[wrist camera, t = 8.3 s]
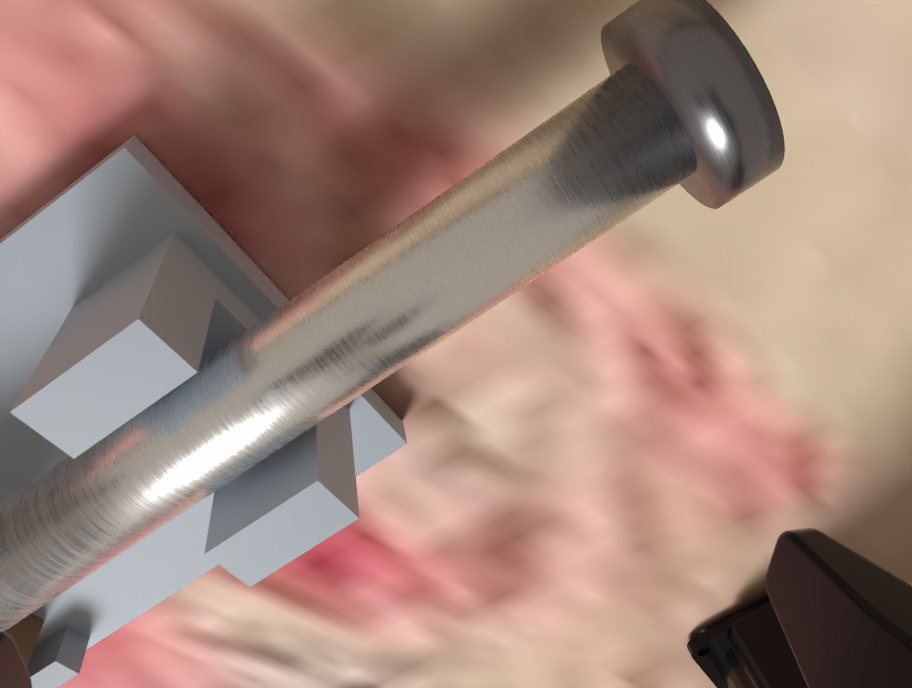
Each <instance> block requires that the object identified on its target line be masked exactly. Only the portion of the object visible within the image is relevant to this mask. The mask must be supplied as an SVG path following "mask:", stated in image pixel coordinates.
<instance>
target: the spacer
mask: <svg viewBox="0 0 912 688" xmlns="http://www.w3.org/2000/svg"><path fill="white" fill-rule="evenodd" d="M44 621H45V620H43V619H42V618H40V617H38V616H36V615H35V614H33V613H31V614H30V615H28V616H27V617H25V618H24V619H22V620H21V621H19V622H18V623H16V624H15V625H13V626H12V627H10V628H9V629H7V630H6V631H4V632H7V633H8V634H10V635H11V636H12V638H13V640H14V642H15V644H16V646H17V648H18V651H19V653H20V655H21V657H22V659H23V661H24V664H25V666H26V668H27V667H28V664H29V661H30V658H31V656H32V653H33V650H34V648H35V645H36V642H37V640H38V637H39V634H40V632H41V629H42V626H43V623H44Z"/></svg>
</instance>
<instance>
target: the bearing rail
mask: <svg viewBox="0 0 912 688" xmlns="http://www.w3.org/2000/svg"><path fill="white" fill-rule="evenodd" d="M288 301H290V300H289V299H288V298H287V297H286V296H285V295H284V294H283V293H282V292H281V291H280V290H279V289H278V288H277V287H276V285H275V284H274V283H273V282H272V281H271V280H270V279H269V278H268V277H267V276H266V275H265V274H264V273H263V272H262V271H261V269H260V268H259V267H258V266H257V265H256V264H255V263H254V262H253V261H252V260H251V259H250V258H249V257H248V256H247V254H246V253H245V252H244V251H243V250H242V249H241V248H240V247H239V246H238V245H237V244H236V243H235V242H234V241H233V239H232V238H231V237H230V236H229V235H228V234H227V233H226V232H225V231H224V230H223V229H222V228H221V227H220V226H219V225H218V223H217V222H216V221H215V220H214V219H213V218H212V217H211V216H210V215H209V214H208V213H207V212H206V211H205V210H204V208H203V207H202V206H201V205H200V204H199V203H198V202H197V201H196V200H195V199H194V198H193V197H192V196H191V195H190V193H189V192H188V191H187V190H186V189H185V188H184V187H183V186H182V185H181V184H180V183H179V182H178V181H177V180H176V179H175V177H174V176H173V175H172V174H171V173H170V172H169V171H168V170H167V169H166V168H165V167H164V166H163V165H162V164H161V162H160V161H159V160H158V159H157V158H156V157H155V156H154V155H153V154H152V153H151V152H150V151H149V150H148V149H147V147H146V146H145V145H144V144H143V143H142V142H141V141H140V140H139V139H138V138H137V137H136V136H135V135H133V136H132V137H131V138H129V139H128V140H127V141H125V142H124V143H123V144H122V145H120V146H119V147H118V148H117V149H115V150H114V151H113V152H111V153H110V154H109V155H108V156H106V157H105V158H104V159H102V160H101V161H100V162H99V163H97V164H96V165H95V166H93V167H92V168H91V169H90V170H88V171H87V172H86V173H84V174H83V175H82V176H81V177H79V178H78V179H77V180H75V181H74V182H73V183H72V184H70V185H69V186H68V187H66V188H65V189H64V190H63V191H61V192H60V193H59V194H57V195H56V196H55V197H54V198H52V199H51V200H50V201H48V202H47V203H46V204H45V205H43V206H42V207H41V208H40V209H38V210H37V211H36V212H34V213H33V214H32V215H31V216H29V217H28V218H27V219H25V220H24V221H23V222H22V223H20V224H19V225H18V226H16V227H15V228H14V229H13V230H11V231H10V232H9V233H7V234H6V235H5V236H4V237H2V238H1V239H0V504H1V503H2V502H3V501H5V500H6V499H8V498H9V497H11V496H12V495H13V494H15V493H16V492H18V491H19V490H21V489H22V488H23V487H25V486H26V485H28V484H29V483H31V482H32V481H33V480H35V479H36V478H38V477H39V476H41V475H42V474H43V473H45V472H46V471H48V470H49V469H50V468H52V467H53V466H55V465H56V464H58V463H59V462H60V461H62V460H63V459H65V458H66V457H68V456H70V457H72V458H73V459H75V458H76V457H77V456H79V455H80V454H82V453H83V452H85V451H86V450H87V449H89V448H90V447H92V446H93V445H95V444H96V443H97V442H99V441H100V440H102V439H103V438H105V437H106V436H107V435H109V434H110V433H112V432H113V431H115V430H116V429H117V428H119V427H120V426H122V425H123V424H125V423H126V422H127V421H129V420H130V419H132V418H133V417H135V416H136V415H137V414H139V413H140V412H142V411H143V410H145V409H146V408H147V407H149V406H150V405H152V404H153V403H155V402H156V401H157V400H159V399H160V398H162V397H163V396H165V395H166V394H167V393H169V392H170V391H172V390H173V389H175V388H176V387H177V386H179V385H180V384H182V383H183V382H185V381H186V380H187V379H189V378H190V377H192V376H193V375H195V374H196V373H197V372H198V369H199V364H200V363H201V362H203V361H204V360H206V359H207V358H209V357H210V356H211V355H213V354H214V353H216V352H217V351H219V350H220V349H221V348H223V347H224V346H226V345H227V344H229V343H230V342H231V341H233V340H234V339H236V338H237V337H239V336H240V335H241V334H243V333H244V332H246V331H247V330H249V329H250V328H251V327H253V326H254V325H256V324H257V323H258V322H260V321H261V320H263V319H264V318H266V317H267V316H268V315H270V314H271V313H273V312H274V311H276V310H277V309H278V308H280V307H281V306H283V305H284V304H286V303H287V302H288ZM405 444H407V441H406V436H405V430H404V425H403V421H402V420H401V419H400V418H399V417H398V416H397V415H396V414H395V413H394V412H393V411H392V410H391V408H390V407H389V406H388V405H387V404H386V403H385V402H384V401H383V400H382V399H381V398H380V397H379V396H378V395H377V394H376V392H375V391H374V390H373V389H372V388H370V389H369V390H367V391H366V392H364V393H363V394H361V395H360V396H358V397H357V398H355V399H354V400H352V401H351V402H349V403H348V404H346V405H345V406H343V407H342V408H340V409H339V410H337V411H336V412H334V413H333V414H331V415H330V416H328V417H326V418H325V419H323V420H322V421H320V422H319V423H317V424H316V425H314V426H313V427H311V428H310V429H308V430H307V431H305V432H304V433H302V434H301V435H299V436H298V437H296V438H295V439H293V440H292V441H290V442H289V443H287V444H286V445H284V446H283V447H281V448H280V449H278V450H277V451H275V452H274V453H272V454H271V455H269V456H268V457H266V458H265V459H263V460H262V461H260V462H259V463H257V464H256V465H254V466H253V467H251V468H250V469H248V470H247V471H245V472H244V473H242V474H241V475H239V476H238V477H236V478H235V479H233V480H232V481H230V482H229V483H227V484H226V485H224V486H223V487H221V488H220V489H218V490H217V491H215V492H214V493H212V494H211V495H209V496H208V497H206V498H204V499H203V500H201V501H200V502H198V503H197V504H195V505H194V506H192V507H191V508H189V509H188V510H186V511H185V512H183V513H182V514H180V515H179V516H177V517H176V518H174V519H173V520H171V521H170V522H168V523H167V524H165V525H164V526H162V527H161V528H159V529H158V530H156V531H155V532H153V533H152V534H150V535H149V536H147V537H146V538H144V539H143V540H141V541H140V542H138V543H137V544H135V545H134V546H132V547H131V548H129V549H128V550H126V551H125V552H123V553H122V554H120V555H119V556H117V557H116V558H114V559H113V560H111V561H110V562H108V563H107V564H105V565H104V566H102V567H101V568H99V569H98V570H96V571H95V572H93V573H92V574H90V575H89V576H87V577H86V578H84V579H82V580H81V581H79V582H78V583H76V584H75V585H73V586H72V587H70V588H69V589H67V590H66V591H64V592H63V593H61V594H60V595H58V596H57V597H55V598H54V599H52V600H51V601H49V602H48V603H46V604H45V605H43V606H42V607H40V608H39V609H37V610H36V611H34V612H33V614H35V615H36V616H38V617H40V618H42V619H43V620H45V621H44V623H43V626H42V629H41V632H40V634H39V637H38V640H37V642H36V645H35V648H34V650H33V653H32V656H31V658H30V661H29V664H28V667H27V670H28V672H29V675H30V678H31V682H32V688H57V687H59V686H61V685H62V684H64V683H65V682H67V681H68V680H70V679H72V678H73V677H75V676H76V675H78V674H79V672H80V668H81V665H82V662H83V658H84V655H85V652H86V650H87V649H88V648H90V647H91V646H93V645H94V644H96V643H97V642H99V641H101V640H102V639H104V638H105V637H107V636H108V635H110V634H111V633H113V632H115V631H116V630H118V629H119V628H121V627H122V626H124V625H125V624H127V623H129V622H130V621H132V620H133V619H135V618H136V617H138V616H139V615H141V614H143V613H144V612H146V611H147V610H149V609H150V608H152V607H153V606H155V605H157V604H158V603H160V602H161V601H163V600H164V599H166V598H167V597H169V596H171V595H172V594H174V593H175V592H177V591H178V590H180V589H181V588H183V587H185V586H186V585H188V584H189V583H191V582H192V581H194V580H195V579H197V578H199V577H200V576H202V575H203V574H205V573H206V572H208V571H209V570H211V569H213V568H214V567H216V566H217V565H220V566H221V567H223V568H224V569H225V570H227V571H228V572H230V573H231V574H232V575H234V576H235V577H236V578H238V579H239V580H241V581H242V582H243V583H245V584H246V585H247V586H249V587H251V586H253V585H254V584H256V583H257V582H259V581H260V580H262V579H264V578H265V577H267V576H268V575H270V574H272V573H273V572H275V571H276V570H278V569H279V568H281V567H283V566H284V565H286V564H287V563H289V562H291V561H292V560H294V559H295V558H297V557H298V556H300V555H302V554H303V553H305V552H306V551H308V550H310V549H311V548H313V547H314V546H316V545H317V544H319V543H321V542H322V541H324V540H325V539H327V538H329V537H330V536H332V535H333V534H335V533H336V532H338V531H340V530H341V529H343V528H344V527H346V526H348V525H349V524H351V523H352V522H354V521H355V520H357V519H359V511H358V499H357V488H356V476H357V475H359V474H360V473H362V472H363V471H365V470H366V469H368V468H370V467H371V466H373V465H374V464H376V463H377V462H379V461H380V460H382V459H384V458H385V457H387V456H388V455H390V454H391V453H393V452H394V451H396V450H398V449H399V448H401V447H402V446H404V445H405Z"/></svg>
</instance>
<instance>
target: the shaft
mask: <svg viewBox="0 0 912 688" xmlns="http://www.w3.org/2000/svg"><path fill="white" fill-rule="evenodd" d="M601 43H602V49H603V53H604V57H605V60H606V63H607V66H608V69H609V71H610V74H611V75H610V76H609V77H608V78H606V79H605V80H603V81H602V82H600V83H599V84H598V85H596V86H595V87H593V88H592V89H590V90H589V91H588V92H586V93H585V94H583V95H582V96H580V97H579V98H578V99H576V100H575V101H573V102H572V103H570V104H569V105H568V106H566V107H565V108H563V109H562V110H560V111H559V112H558V113H556V114H555V115H553V116H552V117H551V118H549V119H548V120H546V121H545V122H543V123H542V124H541V125H539V126H538V127H536V128H535V129H533V130H532V131H531V132H529V133H528V134H526V135H525V136H523V137H522V138H521V139H519V140H518V141H516V142H515V143H513V144H512V145H511V146H509V147H508V148H506V149H505V150H504V151H502V152H501V153H499V154H498V155H496V156H495V157H494V158H492V159H491V160H489V161H488V162H486V163H485V164H484V165H482V166H481V167H479V168H478V169H476V170H475V171H474V172H472V173H471V174H469V175H468V176H466V177H465V178H464V179H462V180H461V181H459V182H458V183H456V184H455V185H454V186H452V187H451V188H449V189H448V190H447V191H445V192H444V193H442V194H441V195H439V196H438V197H437V198H435V199H434V200H432V201H431V202H429V203H428V204H427V205H425V206H424V207H422V208H421V209H419V210H418V211H417V212H415V213H414V214H412V215H411V216H409V217H408V218H407V219H405V220H404V221H402V222H401V223H400V224H398V225H397V226H395V227H394V228H392V229H391V230H390V231H388V232H387V233H385V234H384V235H382V236H381V237H380V238H378V239H377V240H375V241H374V242H372V243H371V244H370V245H368V246H367V247H365V248H364V249H362V250H361V251H360V252H358V253H357V254H355V255H354V256H353V257H351V258H350V259H348V260H347V261H345V262H344V263H343V264H341V265H340V266H338V267H337V268H335V269H334V270H333V271H331V272H330V273H328V274H327V275H325V276H324V277H323V278H321V279H320V280H318V281H317V282H315V283H314V284H313V285H311V286H310V287H308V288H307V289H305V290H304V291H303V292H301V293H300V294H298V295H297V296H296V297H294V298H293V299H291V300H290V301H288V302H287V303H286V304H284V305H283V306H281V307H280V308H278V309H277V310H276V311H274V312H273V313H271V314H270V315H268V316H267V317H266V318H264V319H263V320H261V321H260V322H258V323H257V324H256V325H254V326H253V327H251V328H250V329H249V330H247V331H246V332H244V333H243V334H241V335H240V336H239V337H237V338H236V339H234V340H233V341H231V342H230V343H229V344H227V345H226V346H224V347H223V348H221V349H220V350H219V351H217V352H216V353H214V354H213V355H211V356H210V357H209V358H207V359H206V360H204V361H203V362H201V363H200V364H199V369H198V372H197V373H196V374H195V375H193V376H192V377H190V378H189V379H187V380H186V381H185V382H183V383H182V384H180V385H179V386H177V387H176V388H175V389H173V390H172V391H170V392H169V393H167V394H166V395H165V396H163V397H162V398H160V399H159V400H157V401H156V402H155V403H153V404H152V405H150V406H149V407H147V408H146V409H145V410H143V411H142V412H140V413H139V414H137V415H136V416H135V417H133V418H132V419H130V420H129V421H127V422H126V423H125V424H123V425H122V426H120V427H119V428H117V429H116V430H115V431H113V432H112V433H110V434H109V435H107V436H106V437H105V438H103V439H102V440H100V441H99V442H97V443H96V444H95V445H93V446H92V447H90V448H89V449H87V450H86V451H85V452H83V453H82V454H80V455H79V456H77V457H76V458H75V459H73V458H72V457H70V456H68V457H66V458H65V459H63V460H62V461H60V462H59V463H58V464H56V465H55V466H53V467H52V468H50V469H49V470H48V471H46V472H45V473H43V474H42V475H41V476H39V477H38V478H36V479H35V480H33V481H32V482H31V483H29V484H28V485H26V486H25V487H23V488H22V489H21V490H19V491H18V492H16V493H15V494H13V495H12V496H11V497H9V498H8V499H6V500H5V501H3V502H2V503H1V504H0V631H2V632H4V631H6V630H7V629H9V628H10V627H12V626H13V625H15V624H16V623H18V622H19V621H21V620H22V619H24V618H25V617H27V616H28V615H30V614H31V613H33V612H34V611H36V610H37V609H39V608H40V607H42V606H43V605H45V604H46V603H48V602H49V601H51V600H52V599H54V598H55V597H57V596H58V595H60V594H61V593H63V592H64V591H66V590H67V589H69V588H70V587H72V586H73V585H75V584H76V583H78V582H79V581H81V580H82V579H84V578H86V577H87V576H89V575H90V574H92V573H93V572H95V571H96V570H98V569H99V568H101V567H102V566H104V565H105V564H107V563H108V562H110V561H111V560H113V559H114V558H116V557H117V556H119V555H120V554H122V553H123V552H125V551H126V550H128V549H129V548H131V547H132V546H134V545H135V544H137V543H138V542H140V541H141V540H143V539H144V538H146V537H147V536H149V535H150V534H152V533H153V532H155V531H156V530H158V529H159V528H161V527H162V526H164V525H165V524H167V523H168V522H170V521H171V520H173V519H174V518H176V517H177V516H179V515H180V514H182V513H183V512H185V511H186V510H188V509H189V508H191V507H192V506H194V505H195V504H197V503H198V502H200V501H201V500H203V499H204V498H206V497H208V496H209V495H211V494H212V493H214V492H215V491H217V490H218V489H220V488H221V487H223V486H224V485H226V484H227V483H229V482H230V481H232V480H233V479H235V478H236V477H238V476H239V475H241V474H242V473H244V472H245V471H247V470H248V469H250V468H251V467H253V466H254V465H256V464H257V463H259V462H260V461H262V460H263V459H265V458H266V457H268V456H269V455H271V454H272V453H274V452H275V451H277V450H278V449H280V448H281V447H283V446H284V445H286V444H287V443H289V442H290V441H292V440H293V439H295V438H296V437H298V436H299V435H301V434H302V433H304V432H305V431H307V430H308V429H310V428H311V427H313V426H314V425H316V424H317V423H319V422H320V421H322V420H323V419H325V418H326V417H328V416H330V415H331V414H333V413H334V412H336V411H337V410H339V409H340V408H342V407H343V406H345V405H346V404H348V403H349V402H351V401H352V400H354V399H355V398H357V397H358V396H360V395H361V394H363V393H364V392H366V391H367V390H369V389H370V388H372V387H373V386H375V385H376V384H378V383H379V382H381V381H382V380H384V379H385V378H387V377H388V376H390V375H391V374H393V373H394V372H396V371H397V370H399V369H400V368H402V367H403V366H405V365H406V364H408V363H409V362H411V361H412V360H414V359H415V358H417V357H418V356H420V355H421V354H423V353H424V352H426V351H427V350H429V349H430V348H432V347H433V346H435V345H436V344H438V343H439V342H441V341H442V340H444V339H445V338H447V337H449V336H450V335H452V334H453V333H455V332H456V331H458V330H459V329H461V328H462V327H464V326H465V325H467V324H468V323H470V322H471V321H473V320H474V319H476V318H477V317H479V316H480V315H482V314H483V313H485V312H486V311H488V310H489V309H491V308H492V307H494V306H495V305H497V304H498V303H500V302H501V301H503V300H504V299H506V298H507V297H509V296H510V295H512V294H513V293H515V292H516V291H518V290H519V289H521V288H522V287H524V286H525V285H527V284H528V283H530V282H531V281H533V280H534V279H536V278H537V277H539V276H540V275H542V274H543V273H545V272H546V271H548V270H549V269H551V268H552V267H554V266H555V265H557V264H558V263H560V262H561V261H563V260H564V259H566V258H567V257H569V256H571V255H572V254H574V253H575V252H577V251H578V250H580V249H581V248H583V247H584V246H586V245H587V244H589V243H590V242H592V241H593V240H595V239H596V238H598V237H599V236H601V235H602V234H604V233H605V232H607V231H608V230H610V229H611V228H613V227H614V226H616V225H617V224H619V223H620V222H622V221H623V220H625V219H626V218H628V217H629V216H631V215H632V214H634V213H635V212H637V211H638V210H640V209H641V208H643V207H644V206H646V205H647V204H649V203H650V202H652V201H653V200H655V199H656V198H658V197H659V196H661V195H662V194H664V193H665V192H667V191H668V190H670V189H671V188H673V187H674V186H676V185H677V184H680V185H681V186H682V187H683V188H684V189H685V190H686V191H687V192H688V193H689V194H690V195H691V196H693V197H694V198H695V199H696V200H698V201H699V202H700V203H702V204H703V205H705V206H707V207H709V208H713V209H717V208H719V207H721V206H722V205H724V204H725V203H727V202H729V201H730V200H732V199H733V198H735V197H736V196H738V195H739V194H741V193H742V192H744V191H745V190H747V189H749V188H750V187H752V186H753V185H755V184H756V183H758V182H759V181H761V180H762V179H764V178H765V177H767V176H768V175H770V174H772V173H773V172H775V171H776V170H778V169H779V168H780V166H781V165H782V162H783V159H784V152H785V147H784V137H783V130H782V127H781V123H780V119H779V116H778V113H777V110H776V107H775V104H774V102H773V99H772V97H771V94H770V92H769V90H768V88H767V85H766V83H765V81H764V79H763V77H762V75H761V73H760V72H759V70H758V68H757V66H756V64H755V62H754V61H753V59H752V58H751V56H750V54H749V53H748V51H747V49H746V48H745V46H744V45H743V44H742V42H741V41H740V39H739V38H738V36H737V35H736V34H735V32H734V31H733V30H732V28H731V27H730V26H729V24H728V23H727V22H726V21H725V20H724V19H723V17H722V16H721V15H720V14H719V13H718V12H717V11H716V10H715V9H714V8H713V7H712V6H711V5H710V4H709V3H708V2H707V1H706V0H639V1H638V2H636V3H635V4H634V5H632V6H631V7H629V8H628V9H627V10H625V11H624V12H622V13H621V14H620V15H618V16H617V17H615V18H614V19H613V20H611V21H610V22H608V23H607V24H606V25H605V26H603V28H602V32H601Z"/></svg>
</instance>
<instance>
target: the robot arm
mask: <svg viewBox="0 0 912 688" xmlns="http://www.w3.org/2000/svg"><path fill="white" fill-rule="evenodd" d="M766 589H767V593H768V597H766V598H764V599H762V600H761V601H759V602H757V603H755V604H753V605H751V606H750V607H748V608H746V609H744V610H742V611H741V612H739V613H737V614H735V615H733V616H731V617H730V618H728V619H726V620H724V621H722V622H721V623H719V624H717V625H715V626H713V627H712V628H710V629H708V630H706V631H704V632H702V633H701V634H699V635H697V636H695V637H694V638H692V639H691V640H690V641H689V642H688V644H687V648H688V650H689V652H690V654H691V656H692V658H693V659H694V660H695V662H696V663H697V664H698V665H699V666H700V668H701V669H702V670H703V671H704V672H705V674H706V675H707V676H708V677H709V678H710V680H711V681H712V682H713V683H714V684H715V686H716V687H717V688H912V586H911V585H909V584H908V583H906V582H904V581H903V580H901V579H899V578H898V577H896V576H894V575H893V574H891V573H889V572H888V571H886V570H884V569H883V568H881V567H879V566H878V565H876V564H874V563H873V562H871V561H869V560H868V559H866V558H864V557H863V556H861V555H859V554H858V553H856V552H854V551H853V550H851V549H849V548H848V547H846V546H844V545H843V544H841V543H839V542H837V541H836V540H834V539H832V538H831V537H829V536H827V535H826V534H824V533H822V532H820V531H818V530H816V529H811V528H807V529H799V530H791V531H786V532H783V533H782V534H781V535H780V536H779V538H778V540H777V543H776V546H775V549H774V552H773V555H772V558H771V561H770V564H769V567H768V570H767V573H766ZM0 688H32V682H31V678H30V675H29V672H28V670H27V668H26V666H25V664H24V661H23V659H22V657H21V655H20V653H19V651H18V648H17V646H16V644H15V642H14V640H13V638H12V636H11V635H10V634H8V633H7V632H2V631H0Z"/></svg>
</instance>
